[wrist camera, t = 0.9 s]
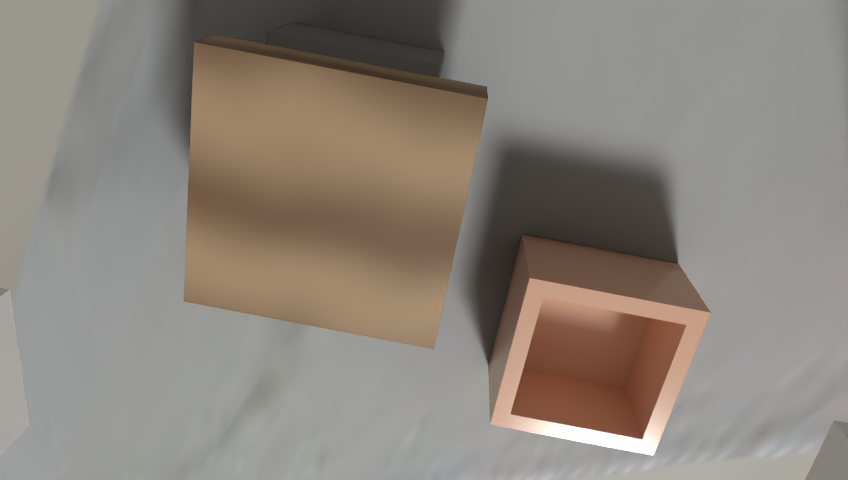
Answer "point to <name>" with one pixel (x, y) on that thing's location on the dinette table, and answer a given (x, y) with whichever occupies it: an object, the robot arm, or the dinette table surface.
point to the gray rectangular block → (357, 48)
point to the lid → (326, 188)
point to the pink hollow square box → (593, 345)
